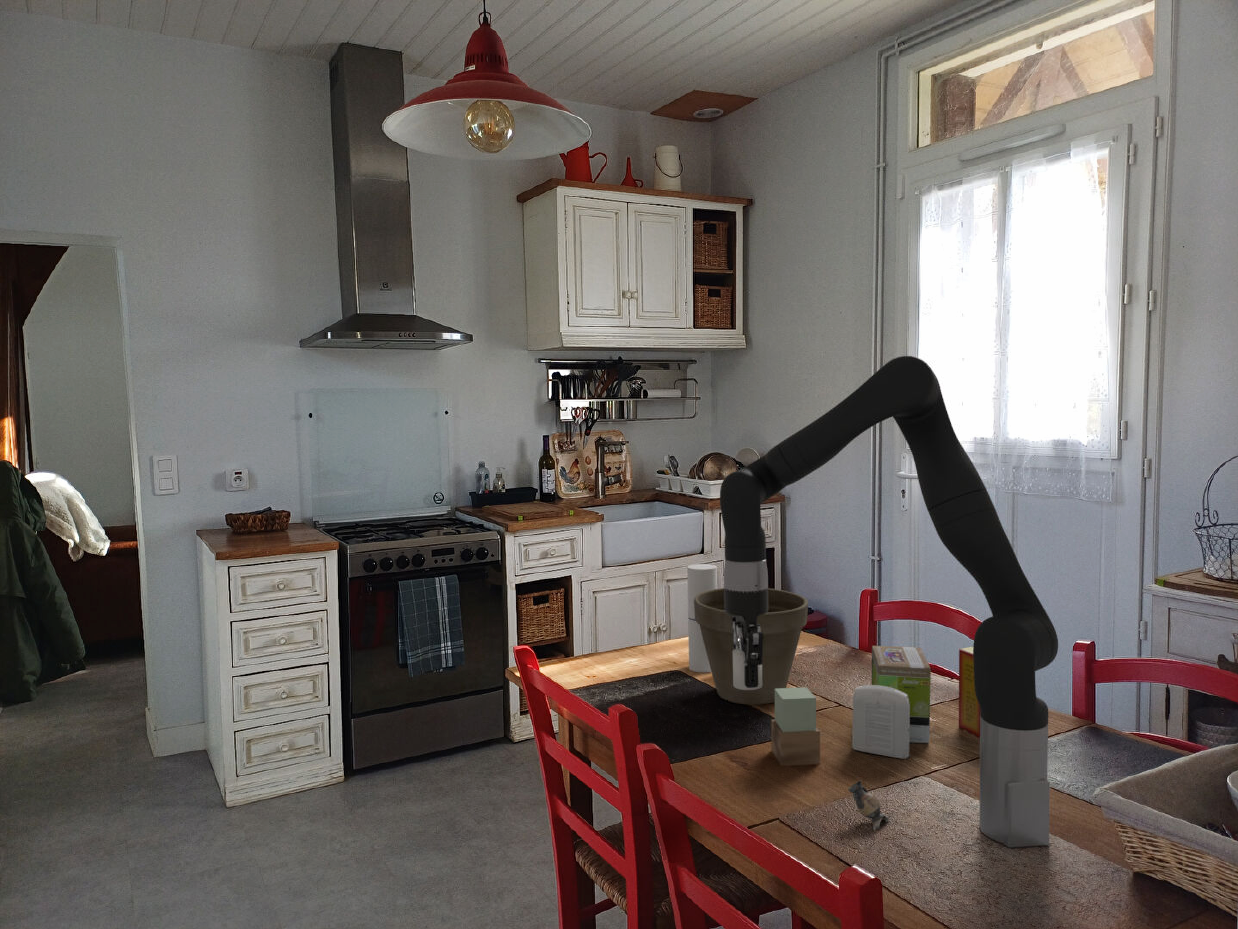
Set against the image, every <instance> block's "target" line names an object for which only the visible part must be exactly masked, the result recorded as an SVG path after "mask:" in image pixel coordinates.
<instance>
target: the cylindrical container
mask: <svg viewBox="0 0 1238 929" xmlns="http://www.w3.org/2000/svg"><path fill="white" fill-rule="evenodd" d="M686 568H687V613H688V614H687V618H688V619H687V620H688V621H687V622H688V623H687V624H688V625H687V627H688V629H687V630H688V631H687V632H688V633H687V634H688V637H687V638H688V670H690V671H691V670H692V672H695V673H712V672H711V668H710V664H709V660H708V656H707V653H706V649H705V645H704V641H703V637H702V633H701V629H700V625H699V624H698V623H697V622H696V620H695V609H694V598H695V597H696V595H698V594H700V593H702V592H705V591H708V590H713V589H718V566H717V565H715V564H707V563H698V564H697V563H696V564H690V565H688V566H687V567H686Z"/></svg>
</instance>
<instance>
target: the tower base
mask: <svg viewBox="0 0 1238 929" xmlns="http://www.w3.org/2000/svg"><path fill="white" fill-rule="evenodd" d="M770 723H771V726H770V727H771V729H770V730H771V752H772V754H773V755H774V757H775V758H776V760H777V762H778V764H780V766H781V767H787V766H788V767H790V766H805V765H806V766H808V765H820V764H821V732H820V730H819V729H818V727H817V726H816V731H799V732H783V731H782V730H781V728H780V727H779V726H778V724H777V723H776V721H775V718H774V719H771V721H770Z"/></svg>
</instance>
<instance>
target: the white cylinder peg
mask: <svg viewBox="0 0 1238 929" xmlns="http://www.w3.org/2000/svg"><path fill="white" fill-rule="evenodd" d="M751 658H755V655H754V653H752V654H751ZM743 662H744V658H743V653H742V652H741V651H740V648H738V649H734V650H733V686H734V687H735V688H737V689H741V690H756V689H759V688H761V687H762V665H759V666H758V686H757V687H754V688H747V687H746V686H745V676H744V663H743Z"/></svg>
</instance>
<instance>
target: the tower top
mask: <svg viewBox="0 0 1238 929" xmlns="http://www.w3.org/2000/svg"><path fill="white" fill-rule="evenodd" d="M774 719H775V721H776V723H777V724H778V726H779V727H780V728H781V730H782V731H783V732H799V731H816V727H817V697H816V696H815V695H814V694H813V692H811V690H810V689H809V688H808V687H807V686H805V687H804V686H802V687H786V688H778V689H775V702H774Z"/></svg>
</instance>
